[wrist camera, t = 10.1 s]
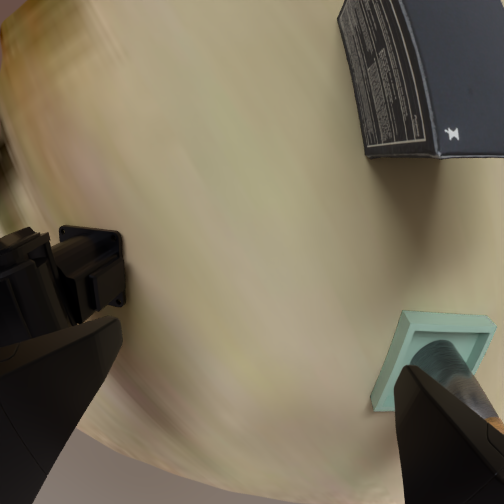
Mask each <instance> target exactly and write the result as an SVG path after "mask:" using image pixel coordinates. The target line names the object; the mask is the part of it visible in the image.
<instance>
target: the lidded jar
mask: <svg viewBox="0 0 504 504" xmlns="http://www.w3.org/2000/svg"><path fill="white" fill-rule="evenodd" d="M409 365H416V366H418V367H419V368H421V369H422V370H423V371H424V372H426V373H427V374H428V375H429V376H431V377H432V378H433V379H435V380H436V381H437V382H438V383H440V384H441V385H442V386H443V387H445V388H446V389H447V390H448V391H450V392H451V393H452V394H453V395H455V396H456V397H457V398H458V399H460V400H461V401H462V402H463V403H465V404H466V405H467V406H468V407H470V408H471V409H472V410H473V411H475V412H476V413H477V414H478V415H480V416H481V417H482V418H483V419H485V420H486V421H487V423H490V424H491V425H492V426H493V427H495V428H496V429H497V430H498V431H500V432H501V433H502V434H504V424H503V422H502V420H501V419H500V418H499V417H498V415H497V413H496V411H495V409H494V408H493V406H492V404H491V403H490V401H489V399H488V397H487V396H486V394H485V392H484V391H483V389H482V388H481V386H480V384H479V383H478V381H477V379H476V378H475V376H474V375H473V373H472V372H471V370H470V368H469V367H468V365H467V364H466V362H465V361H464V359H463V358H462V356H461V355H460V353H459V352H458V350H457V349H456V347H455V346H454V345H453V343H451V342H450V341H448V340H436V341H433V342H431V343H429V344H427V345H425V346H424V347H422V348H421V349H420V350H419V351H418V352H417V353H416V354H415V355H414V356H413V358H412V360H411V362H410V364H409Z"/></svg>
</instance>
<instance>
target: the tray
mask: <svg viewBox="0 0 504 504" xmlns="http://www.w3.org/2000/svg"><path fill="white" fill-rule="evenodd" d="M496 328H497V326H496V325H495V324H494V323H493V322H492V320H491V319H490V318H489V317H488V316H486V315H465V314H448V313H433V312H418V311H405V310H402V313H401V317H400V320H399V323H398V326H397V329H396V332H395V335H394V337H393V340H392V343H391V346H390V349H389V351H388V354H387V357H386V359H385V362H384V365H383V367H382V370H381V372H380V375H379V377H378V379H377V382H376V384H375V387H374V389H373V391H372V394H371V396H370V397H371V402H372V406H373V410H374V411H395V405H394V385H395V383H396V381H397V379H398V376H399V374H400V372H401V370H402V368H403V367H404V366H405V365H409V364H410V362H411V360H412V358H413V356H414V355H415V354H416V353H417V352H418V351H419V350H420V349H421V348H422V347H424V346H425V345H427V344H429V343H431V342H433V341H436V340H448V341H450V342H451V343H453V345H454V346H455V347H456V349H457V350H458V352H459V353H460V355H461V356H462V358H463V359H464V361H465V362H466V364H467V365H468V367H469V368H470V370H471V372H472V373H473V375H475V373H476V371H477V369H478V367H479V365H480V363H481V361H482V359H483V357H484V355H485V353H486V351H487V349H488V346H489V344H490V342H491V340H492V338H493V335H494V333H495V331H496Z"/></svg>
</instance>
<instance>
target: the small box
mask: <svg viewBox="0 0 504 504" xmlns="http://www.w3.org/2000/svg"><path fill="white" fill-rule="evenodd" d="M337 21H338V24H339V28H340V32H341V36H342V39H343V43H344V47H345V51H346V55H347V60H348V64H349V68H350V73H351V77H352V82H353V87H354V92H355V98H356V102H357V108H358V113H359V119H360V125H361V131H362V137H363V143H364V149H365V155H366V156H367V157H368V158H370V159H374V158H381V157H391V158H397V157H400V158H403V157H404V158H436V159H449V158H504V7H503V5H502V3H501V1H500V0H345V1H344V4H343V6H342V8H341V11H340V13H339V15H338V17H337Z"/></svg>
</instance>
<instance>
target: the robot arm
mask: <svg viewBox="0 0 504 504" xmlns="http://www.w3.org/2000/svg"><path fill="white" fill-rule="evenodd" d="M64 230H65V233H64ZM113 236H115V237H116V240H115V239H114V237H113ZM59 238H60V243H58V244H56V245H54V246H52V247H51V245H50V242H49V240H50V236H49V233H48V232H47V233H43V234H40V232H39V233H35V232H34V231H33V230H32V229H31V228H30V227H27V228H24V229H21V230H18V231H16V232H13V233H11V234H9V235H6V236H4V237H2V238H0V504H32V503H33V502H34V499H35V498H36V496H37V494H38V492H39V490H40V489H41V486H42V485H43V483H44V481H45V479H46V478H47V475H48V474H49V472H50V470H51V468H52V467H53V464H54V463H55V461H56V459H57V457H58V456H59V454H60V452H61V451H62V449H63V447H64V446H65V444H66V442H67V441H68V439H69V437H70V436H71V434H72V432H73V431H74V429H75V427H76V426H77V424H78V422H79V421H80V419H81V417H82V416H83V414H84V412H85V411H86V409H87V408H88V406H89V404H90V403H91V401H92V400H93V398H94V396H95V395H96V393H97V392H98V390H99V388H100V387H101V385H102V384H103V382H104V380H105V378H106V376H107V375H108V372H109V370H110V368H111V366H112V364H113V362H114V360H115V358H116V356H117V354H118V352H119V350H120V348H121V346H122V342H123V338H122V330H121V322H120V320H119V319H118V318H116V317H112V316H105V317H102V318H98V319H95V320H92V321H89V322H85V323H83V322H84V321H85V320H87V319H88V318H89V317H90V316H91V315H92V314H93V313H94V312H96V311H98V312H99V311H100V310H102V309H103V308H104V307H105V306H106V305H112V306H116V307H122V306H123V305H124V304H125V303H126V299H125V274H124V260H123V258H122V242H121V235H120V233H119V232H118V231H114V230H105V229H97V228H88V227H79V226H70V225H63V226H61V227H60V228H59ZM118 299H119V300H120V301H121V302H119V300H118ZM77 323H78V324H79V325H77ZM394 405H395V422H396V434H397V441H398V447H399V454H400V462H401V470H402V478H403V487H404V498H405V504H504V434H502V433H501V432H500V431H498V430H497V429H496V428H495V427H493V426H492V425H491V424H490V423H487V421H486V420H485V419H483V418H482V417H481V416H480V415H478V414H477V413H476V412H475V411H473V410H472V409H471V408H470V407H468V406H467V405H466V404H465V403H463V402H462V401H461V400H460V399H458V398H457V397H456V396H455V395H453V394H452V393H451V392H450V391H448V390H447V389H446V388H445V387H443V386H442V385H441V384H440V383H438V382H437V381H436V380H435V379H433V378H432V377H431V376H429V375H428V374H427V373H426V372H424V371H423V370H422V369H421V368H419V367H418V366H416V365H405V366H404V367H403V368H402V370H401V372H400V374H399V376H398V379H397V381H396V383H395V385H394Z"/></svg>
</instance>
